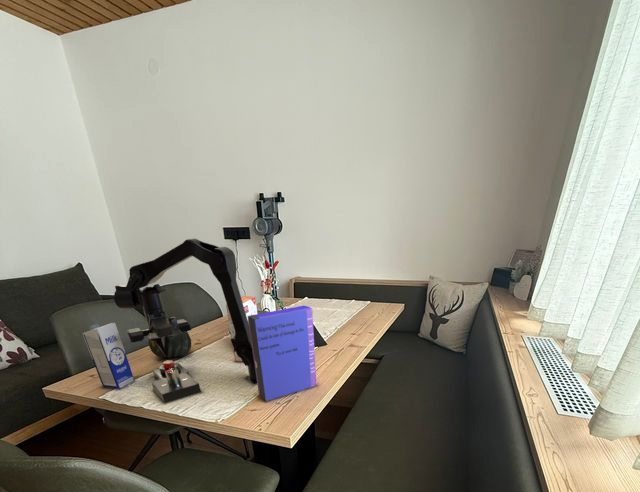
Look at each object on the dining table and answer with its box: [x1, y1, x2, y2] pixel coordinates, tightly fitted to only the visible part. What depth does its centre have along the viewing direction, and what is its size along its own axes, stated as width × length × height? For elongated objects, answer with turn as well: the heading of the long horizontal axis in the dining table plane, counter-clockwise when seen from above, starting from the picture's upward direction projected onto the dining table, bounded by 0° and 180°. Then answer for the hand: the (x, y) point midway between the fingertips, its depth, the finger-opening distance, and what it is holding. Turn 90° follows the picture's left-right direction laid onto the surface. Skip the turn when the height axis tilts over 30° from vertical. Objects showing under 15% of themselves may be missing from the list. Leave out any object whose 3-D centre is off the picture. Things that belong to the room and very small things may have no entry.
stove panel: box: [150, 372, 202, 404], centre depth 111 cm, size 12×11×3 cm
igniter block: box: [152, 362, 190, 380], centre depth 121 cm, size 10×9×4 cm
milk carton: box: [81, 322, 135, 390], centre depth 113 cm, size 7×7×20 cm
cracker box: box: [225, 295, 258, 363], centre depth 132 cm, size 14×6×21 cm, turn 168°
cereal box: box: [248, 305, 318, 402], centre depth 103 cm, size 17×5×24 cm, turn 124°
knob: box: [165, 368, 181, 385], centre depth 109 cm, size 4×4×4 cm
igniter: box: [162, 360, 175, 368], centre depth 120 cm, size 3×3×2 cm
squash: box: [148, 329, 192, 359], centre depth 137 cm, size 14×15×15 cm
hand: (166, 355), depth 118 cm, fingers closed
